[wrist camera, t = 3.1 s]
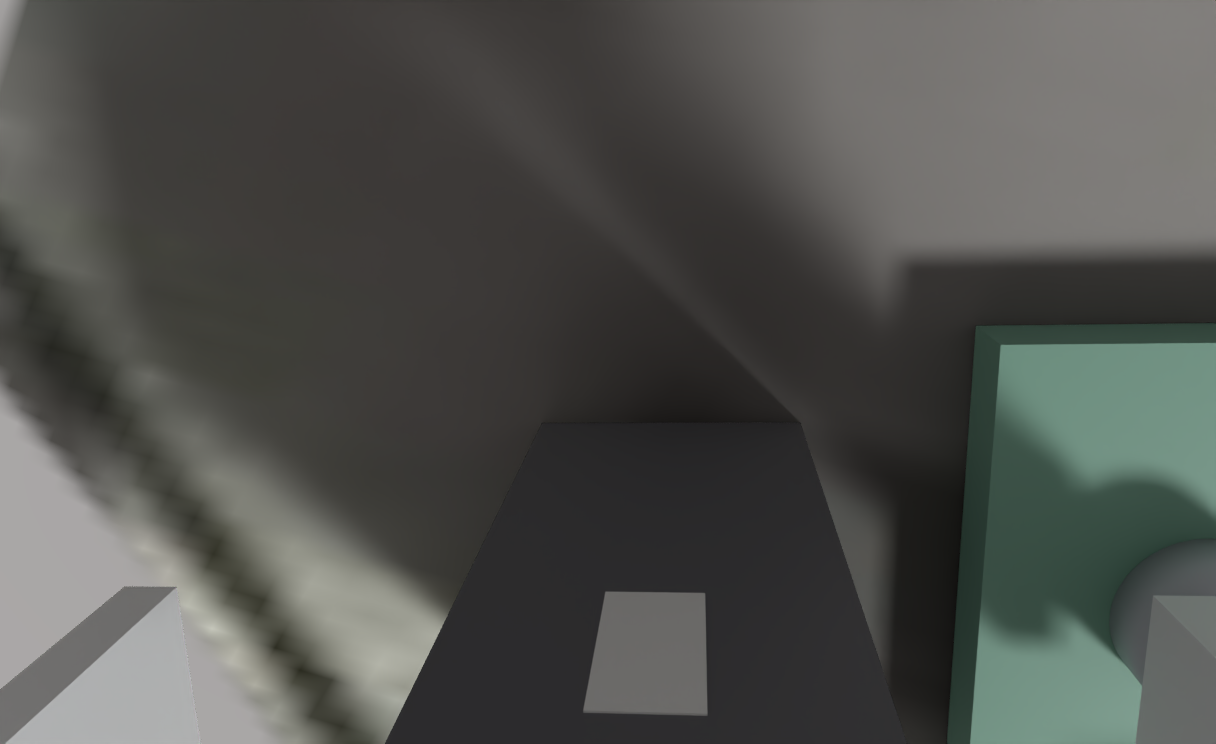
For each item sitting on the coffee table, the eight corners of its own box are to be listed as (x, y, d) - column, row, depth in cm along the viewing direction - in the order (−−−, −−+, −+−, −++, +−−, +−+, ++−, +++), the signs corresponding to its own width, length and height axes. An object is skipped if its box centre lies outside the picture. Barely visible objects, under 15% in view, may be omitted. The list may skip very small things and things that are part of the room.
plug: (542, 421, 15) (382, 744, 7) (800, 421, 15) (912, 759, 7) (556, 702, 16) (434, 1223, 9) (793, 708, 16) (883, 1258, 8)
